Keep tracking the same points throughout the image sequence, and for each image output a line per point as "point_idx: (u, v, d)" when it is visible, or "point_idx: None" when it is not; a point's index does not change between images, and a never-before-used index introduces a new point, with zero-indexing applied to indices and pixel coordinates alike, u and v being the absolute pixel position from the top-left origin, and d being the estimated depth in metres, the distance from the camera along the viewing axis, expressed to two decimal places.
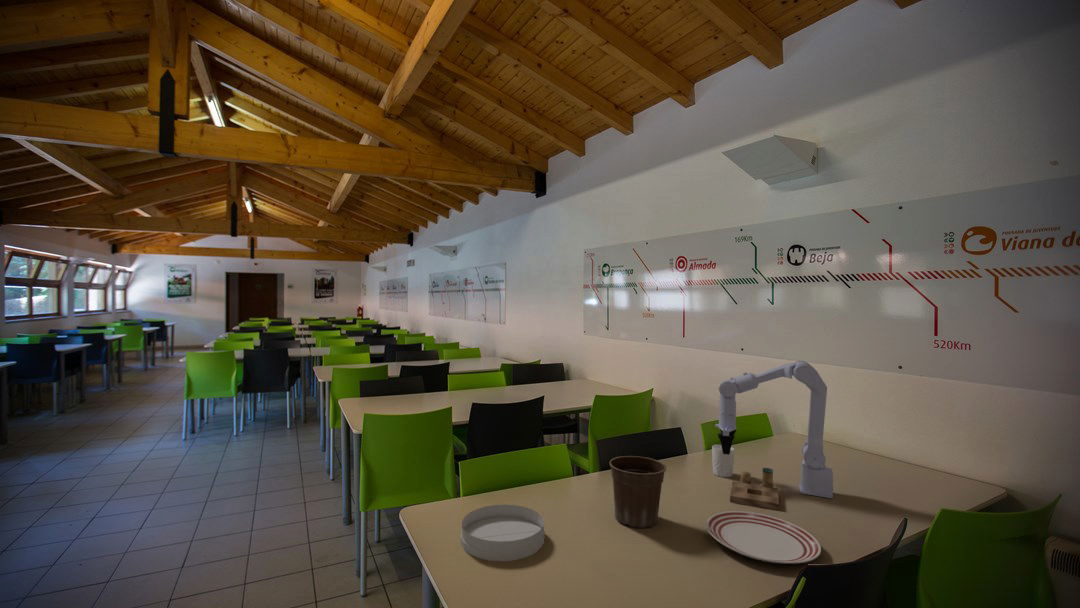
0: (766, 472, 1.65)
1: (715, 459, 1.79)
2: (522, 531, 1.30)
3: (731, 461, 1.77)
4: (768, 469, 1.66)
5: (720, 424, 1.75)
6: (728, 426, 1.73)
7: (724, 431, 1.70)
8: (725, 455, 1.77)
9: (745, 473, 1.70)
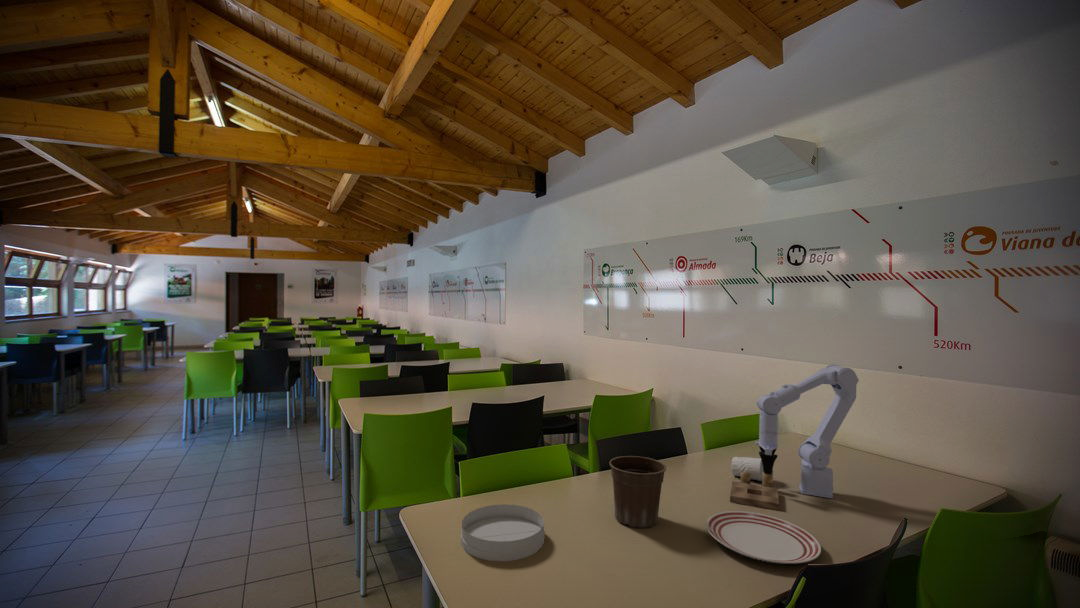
0: None
1: (749, 460, 1.75)
2: (522, 531, 1.30)
3: None
4: None
5: (761, 442, 1.65)
6: (770, 444, 1.63)
7: (766, 450, 1.60)
8: (754, 470, 1.72)
9: (745, 473, 1.70)
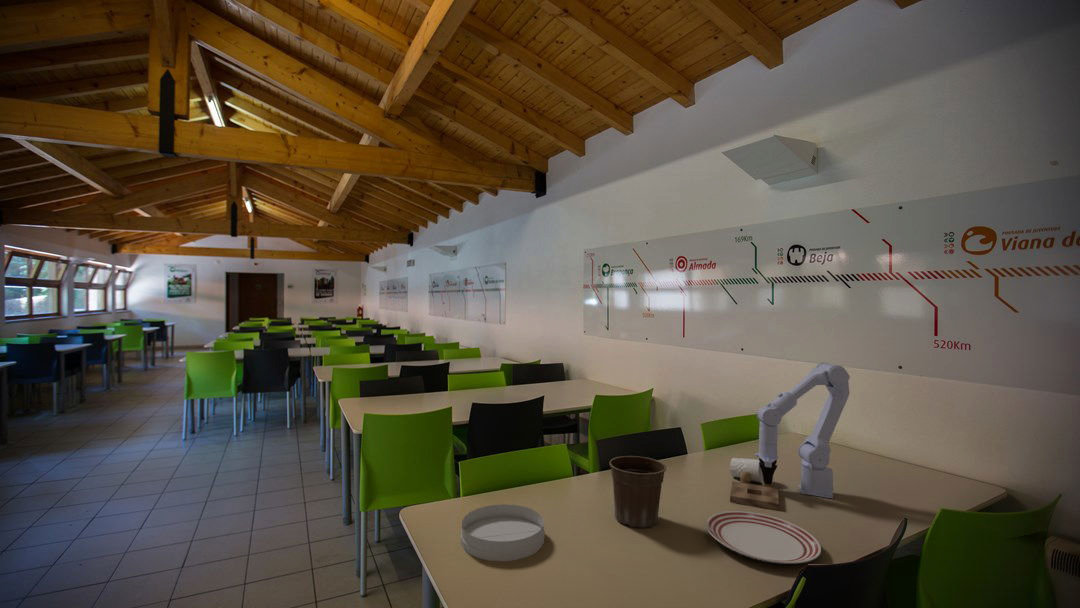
0: None
1: (747, 465, 1.73)
2: (522, 531, 1.30)
3: None
4: None
5: (761, 454, 1.65)
6: (769, 456, 1.63)
7: (766, 462, 1.60)
8: (753, 476, 1.71)
9: (745, 473, 1.70)
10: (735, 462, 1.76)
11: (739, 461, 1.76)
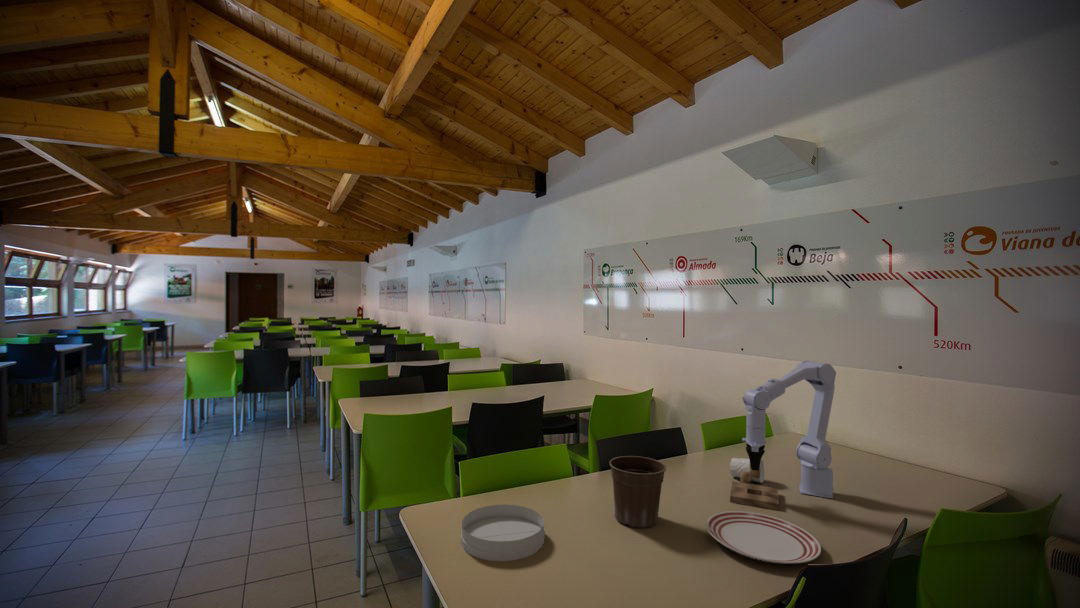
0: None
1: (747, 465, 1.73)
2: (522, 531, 1.30)
3: None
4: None
5: (748, 439, 1.58)
6: (757, 441, 1.56)
7: (753, 446, 1.52)
8: None
9: (745, 473, 1.70)
10: (735, 462, 1.76)
11: (739, 461, 1.76)
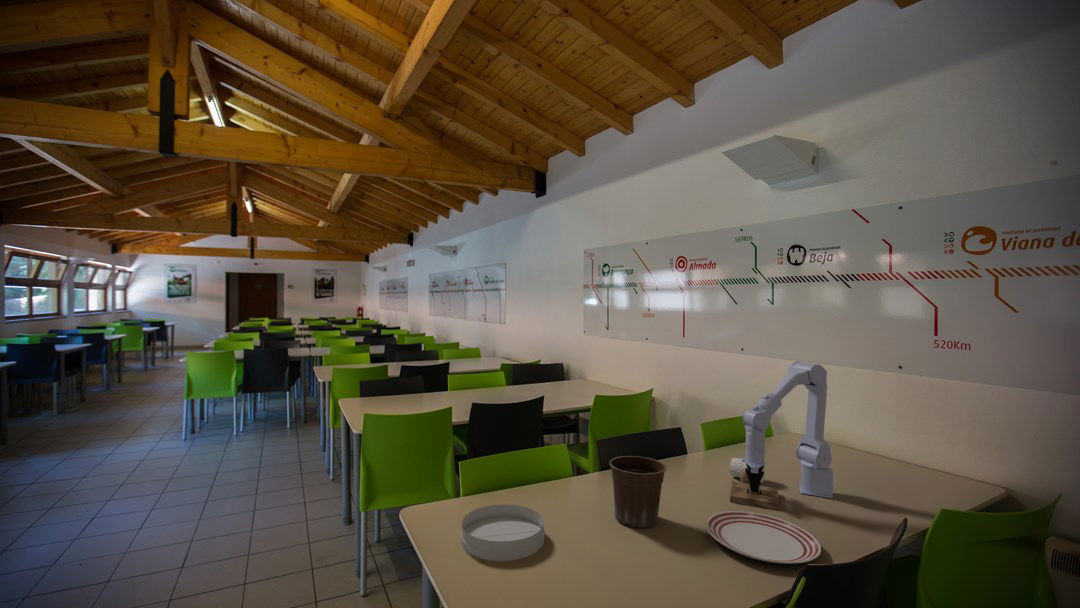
0: None
1: None
2: (522, 531, 1.30)
3: None
4: None
5: (747, 459, 1.58)
6: (756, 461, 1.56)
7: (753, 468, 1.52)
8: None
9: (745, 473, 1.70)
10: (735, 462, 1.76)
11: (739, 461, 1.76)
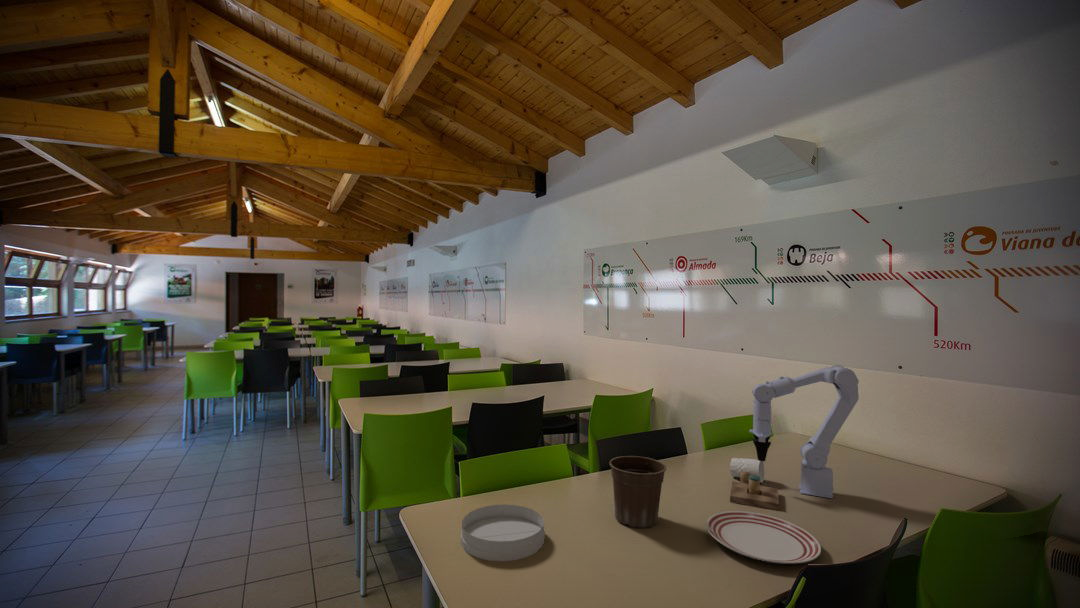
0: (753, 480, 1.57)
1: (747, 465, 1.73)
2: (522, 531, 1.30)
3: None
4: (755, 476, 1.59)
5: (755, 430, 1.69)
6: (763, 432, 1.67)
7: (760, 437, 1.63)
8: None
9: (745, 473, 1.70)
10: (735, 462, 1.76)
11: (739, 461, 1.76)
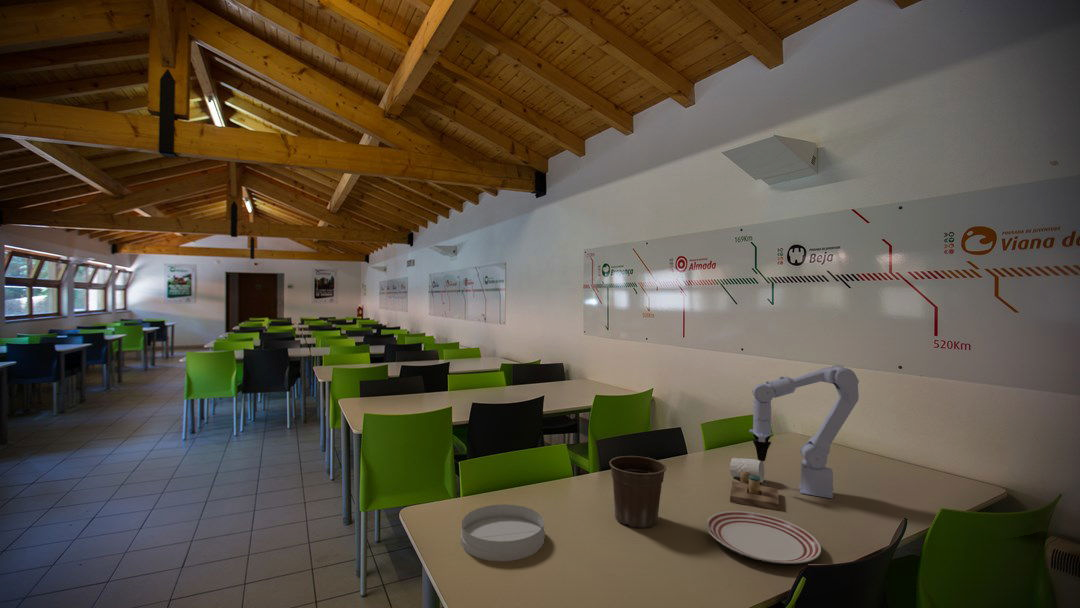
0: (753, 480, 1.57)
1: (747, 465, 1.73)
2: (522, 531, 1.30)
3: None
4: (755, 476, 1.59)
5: (755, 430, 1.69)
6: (763, 432, 1.67)
7: (760, 437, 1.63)
8: None
9: (745, 473, 1.70)
10: (735, 462, 1.76)
11: (739, 461, 1.76)
